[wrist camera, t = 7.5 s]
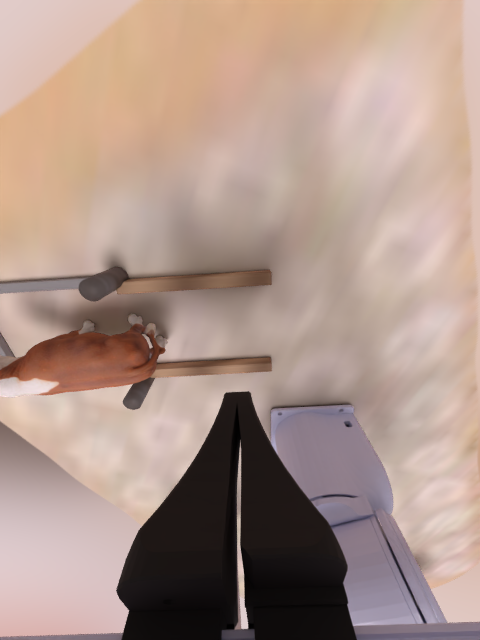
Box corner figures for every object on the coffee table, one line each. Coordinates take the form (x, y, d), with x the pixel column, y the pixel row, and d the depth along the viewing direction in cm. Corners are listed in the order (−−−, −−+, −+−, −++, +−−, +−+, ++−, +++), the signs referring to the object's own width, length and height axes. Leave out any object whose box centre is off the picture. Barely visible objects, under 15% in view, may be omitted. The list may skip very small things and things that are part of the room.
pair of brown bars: (269, 256, 18) (277, 267, 15) (270, 373, 24) (276, 402, 20) (106, 267, 19) (75, 279, 15) (142, 380, 24) (125, 410, 20)
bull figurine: (29, 312, 20) (-89, 366, 13) (174, 309, 20) (138, 362, 13) (47, 351, 22) (-47, 419, 15) (180, 349, 22) (152, 415, 15)
